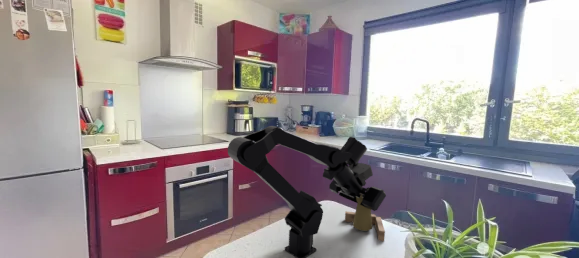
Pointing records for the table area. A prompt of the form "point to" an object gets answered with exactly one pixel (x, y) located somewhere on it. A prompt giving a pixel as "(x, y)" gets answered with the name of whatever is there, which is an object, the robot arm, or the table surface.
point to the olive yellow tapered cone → (362, 217)
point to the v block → (375, 221)
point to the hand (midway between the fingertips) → (366, 205)
